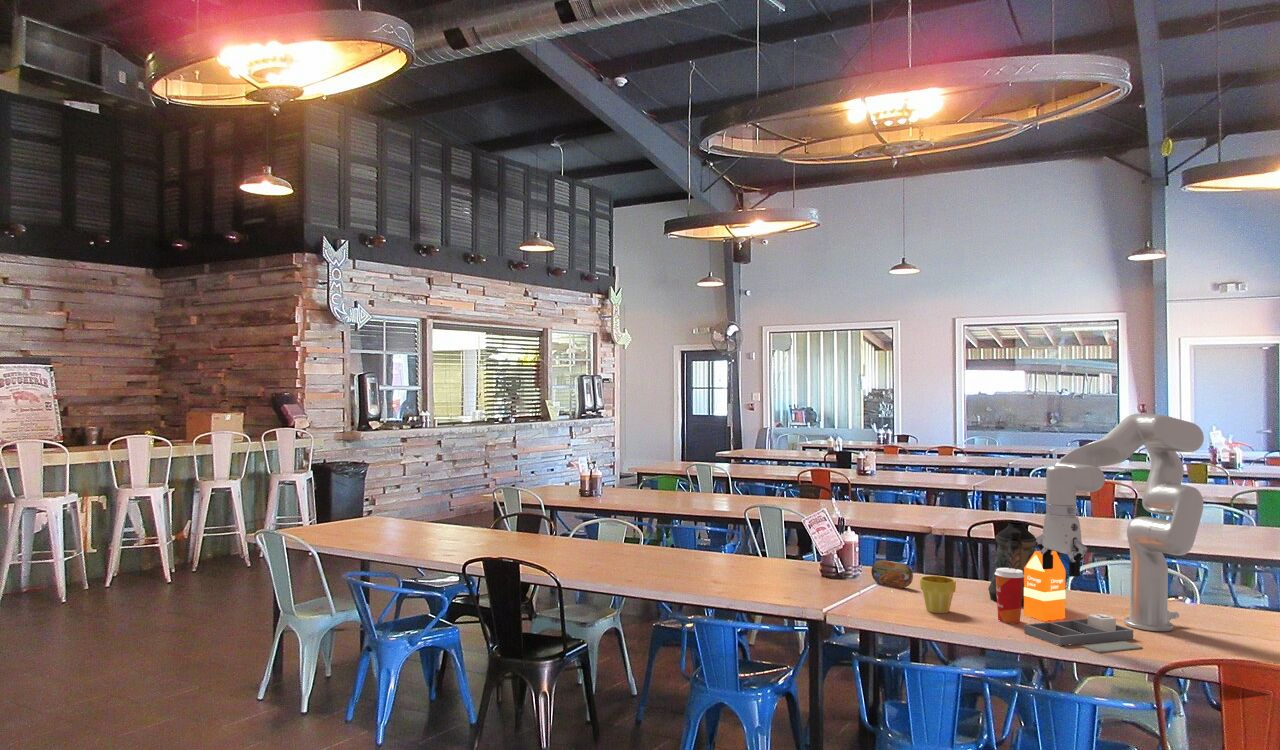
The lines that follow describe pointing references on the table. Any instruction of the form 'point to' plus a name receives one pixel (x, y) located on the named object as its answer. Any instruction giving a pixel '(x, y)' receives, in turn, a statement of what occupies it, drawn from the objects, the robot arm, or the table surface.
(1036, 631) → the sorting box
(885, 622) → the table surface
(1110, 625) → the letter cube
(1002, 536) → the dark ornate vase
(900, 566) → the tin
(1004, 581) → the coffee cup
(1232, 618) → the table surface
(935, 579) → the plant pot
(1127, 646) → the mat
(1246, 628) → the table surface
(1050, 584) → the orange juice
